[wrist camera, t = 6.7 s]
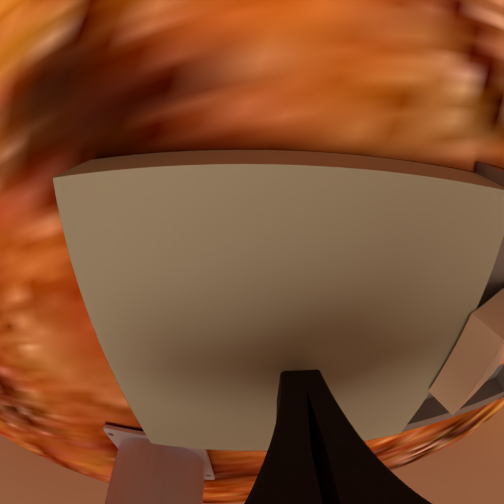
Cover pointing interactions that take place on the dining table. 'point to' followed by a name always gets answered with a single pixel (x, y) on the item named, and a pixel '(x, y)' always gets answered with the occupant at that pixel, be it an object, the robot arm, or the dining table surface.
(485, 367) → the cream tile
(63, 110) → the dining table surface
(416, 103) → the dining table surface
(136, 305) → the beige square slab
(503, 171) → the box
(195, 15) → the dining table surface
